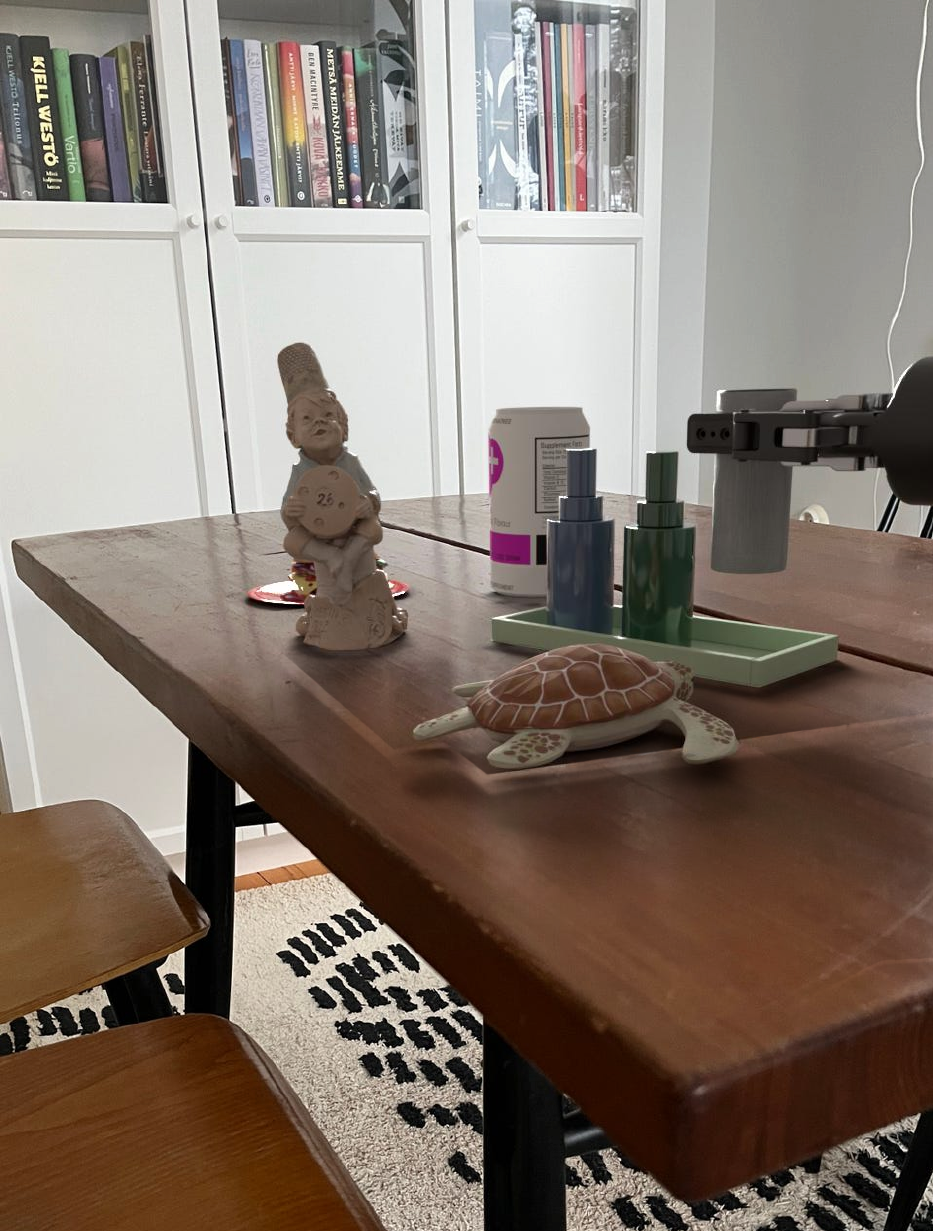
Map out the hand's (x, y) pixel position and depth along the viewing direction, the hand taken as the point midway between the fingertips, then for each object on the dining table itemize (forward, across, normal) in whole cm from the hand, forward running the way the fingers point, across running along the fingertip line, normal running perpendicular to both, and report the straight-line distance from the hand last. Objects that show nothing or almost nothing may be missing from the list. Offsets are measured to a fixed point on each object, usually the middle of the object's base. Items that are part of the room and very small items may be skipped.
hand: (716, 430), depth 73 cm
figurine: (+23, +10, +14) cm, 29 cm away
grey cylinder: (-3, 0, +8) cm, 9 cm away
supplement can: (+26, -13, +14) cm, 32 cm away
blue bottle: (+11, 0, +14) cm, 17 cm away
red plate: (+41, -2, +14) cm, 43 cm away
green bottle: (+4, 0, +14) cm, 14 cm away
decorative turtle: (-5, +19, +15) cm, 24 cm away
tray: (+4, 0, +14) cm, 15 cm away
